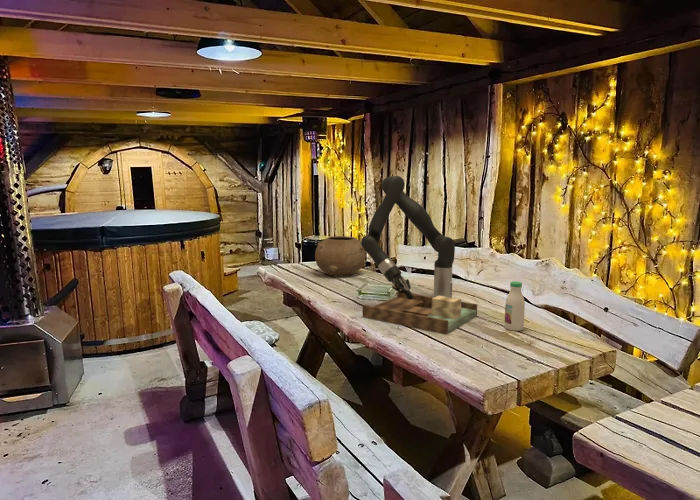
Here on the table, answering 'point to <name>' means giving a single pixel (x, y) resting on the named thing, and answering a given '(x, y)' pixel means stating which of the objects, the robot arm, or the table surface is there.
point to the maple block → (446, 307)
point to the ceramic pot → (340, 255)
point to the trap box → (418, 313)
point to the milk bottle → (515, 308)
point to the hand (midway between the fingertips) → (411, 298)
